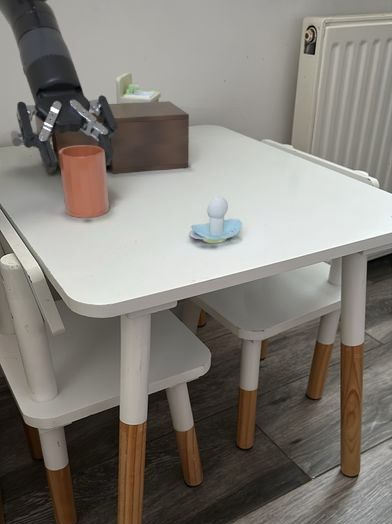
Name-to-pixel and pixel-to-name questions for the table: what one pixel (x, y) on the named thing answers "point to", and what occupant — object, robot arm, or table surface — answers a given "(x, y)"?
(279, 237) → the table surface
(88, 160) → the cup
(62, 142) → the drawer
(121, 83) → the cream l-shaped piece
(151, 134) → the cabinet
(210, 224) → the pacifier
